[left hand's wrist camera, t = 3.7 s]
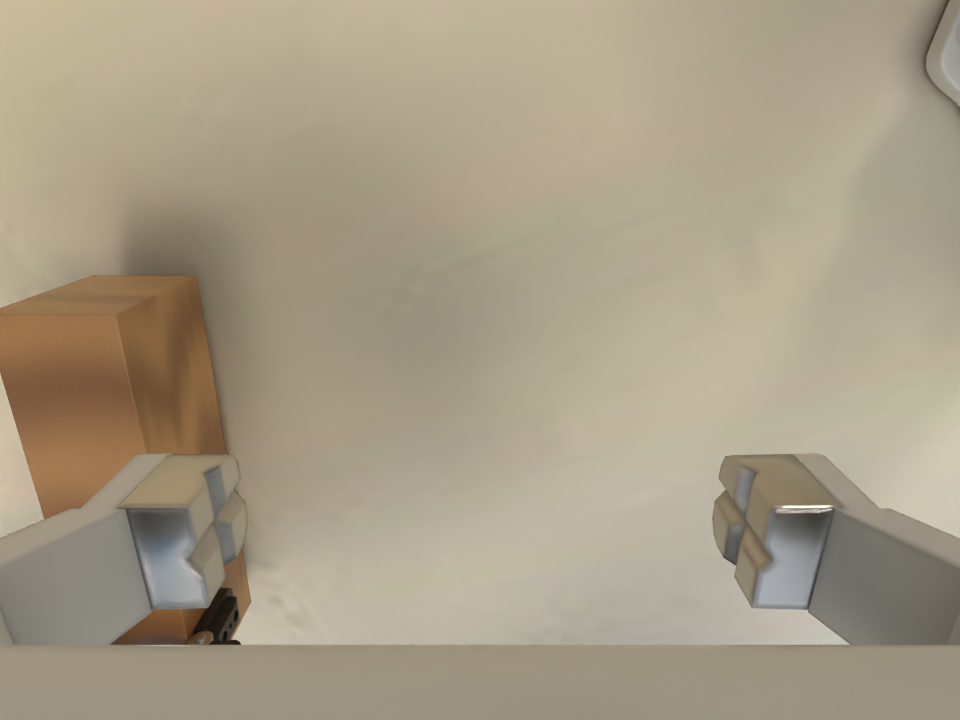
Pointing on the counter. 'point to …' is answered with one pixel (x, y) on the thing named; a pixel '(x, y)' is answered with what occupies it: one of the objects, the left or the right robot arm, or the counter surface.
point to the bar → (113, 398)
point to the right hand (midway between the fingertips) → (176, 598)
